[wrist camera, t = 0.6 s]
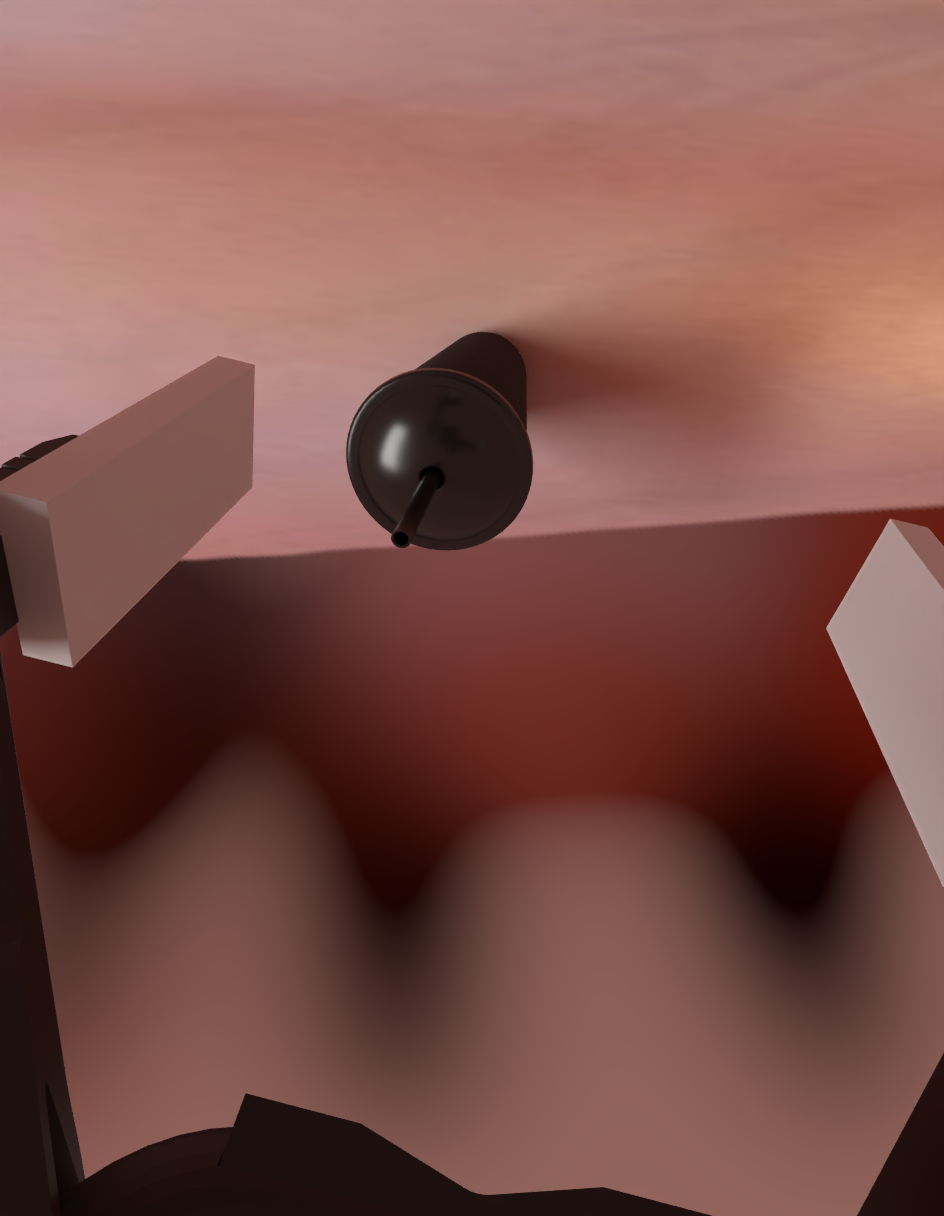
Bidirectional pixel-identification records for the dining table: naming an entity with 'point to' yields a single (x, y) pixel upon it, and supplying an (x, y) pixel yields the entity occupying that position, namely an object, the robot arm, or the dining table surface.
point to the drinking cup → (446, 447)
